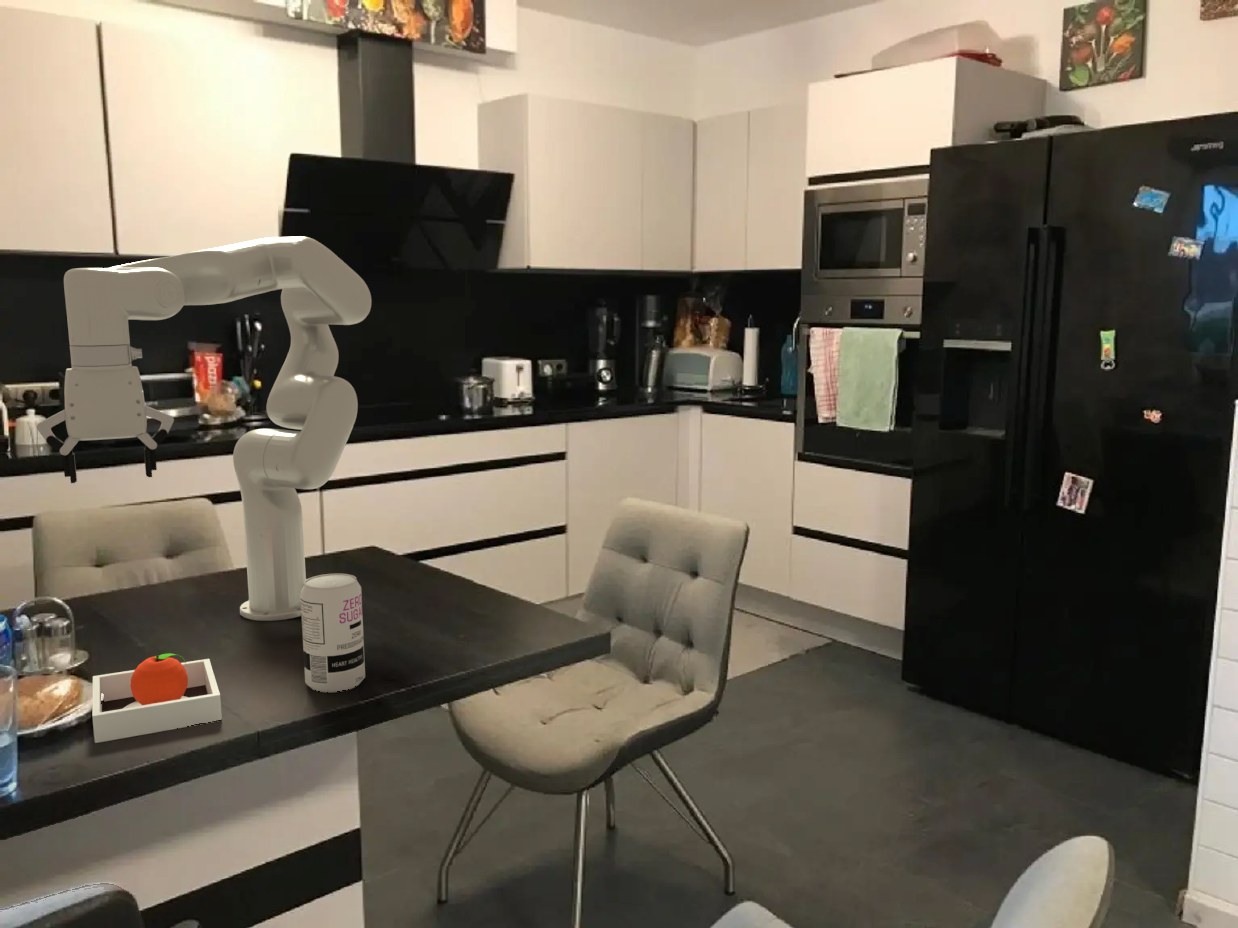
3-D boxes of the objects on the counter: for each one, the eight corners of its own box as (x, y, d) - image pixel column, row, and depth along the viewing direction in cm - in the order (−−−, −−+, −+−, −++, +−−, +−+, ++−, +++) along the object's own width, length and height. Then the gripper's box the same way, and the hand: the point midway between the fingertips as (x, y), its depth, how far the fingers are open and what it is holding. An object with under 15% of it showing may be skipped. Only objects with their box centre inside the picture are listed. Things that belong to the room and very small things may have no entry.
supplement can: (312, 673, 147) (306, 573, 145) (369, 671, 148) (365, 571, 145) (299, 695, 139) (293, 589, 137) (360, 693, 140) (355, 588, 137)
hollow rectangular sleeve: (210, 682, 144) (209, 658, 143) (221, 720, 131) (220, 694, 130) (95, 700, 137) (92, 676, 137) (94, 742, 124) (92, 716, 124)
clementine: (169, 690, 140) (165, 641, 139) (207, 699, 137) (204, 648, 136) (120, 712, 133) (116, 660, 131) (159, 721, 130) (155, 668, 129)
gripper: (167, 354, 149) (176, 469, 152) (31, 358, 141) (43, 479, 144) (170, 357, 142) (179, 477, 145) (28, 362, 135) (41, 488, 137)
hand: (112, 478), depth 145 cm, fingers open, 9 cm apart
